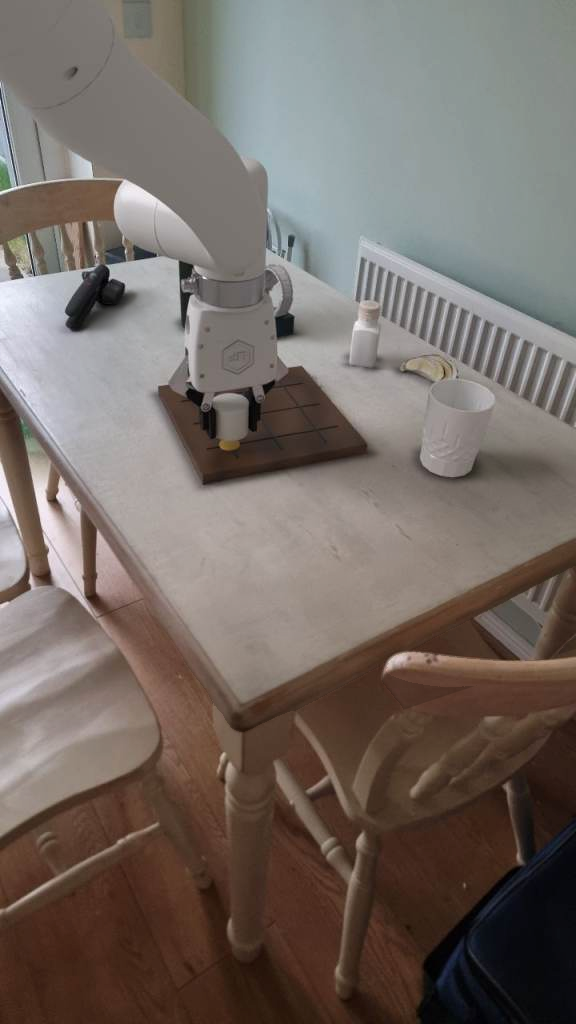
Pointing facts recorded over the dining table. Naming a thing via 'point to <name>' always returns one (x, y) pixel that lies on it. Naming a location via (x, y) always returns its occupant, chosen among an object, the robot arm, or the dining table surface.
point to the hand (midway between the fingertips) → (230, 428)
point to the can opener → (92, 295)
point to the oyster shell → (431, 367)
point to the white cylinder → (231, 416)
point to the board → (268, 431)
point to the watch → (282, 315)
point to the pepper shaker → (366, 335)
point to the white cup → (455, 426)
